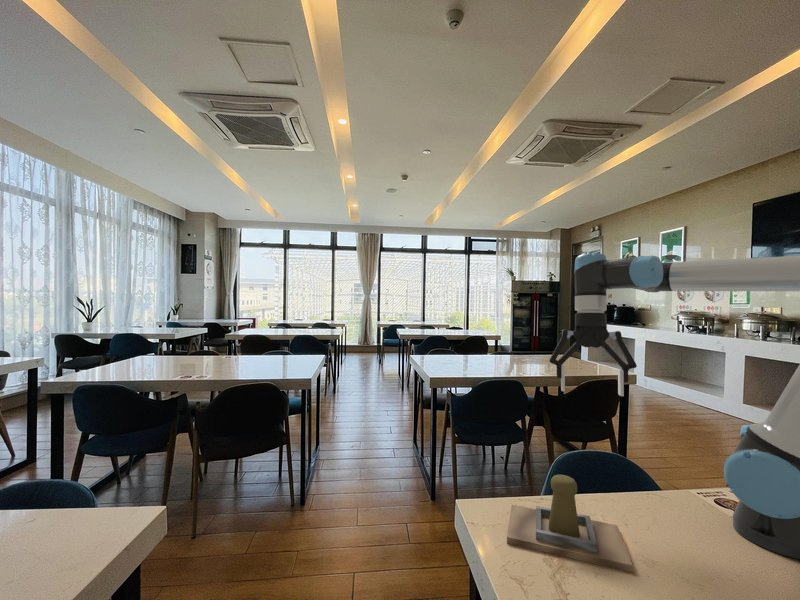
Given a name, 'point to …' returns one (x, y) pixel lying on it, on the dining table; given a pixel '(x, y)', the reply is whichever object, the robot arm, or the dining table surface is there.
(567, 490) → the olive pawn shaped shaker
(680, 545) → the dining table surface
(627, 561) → the condiment stand
